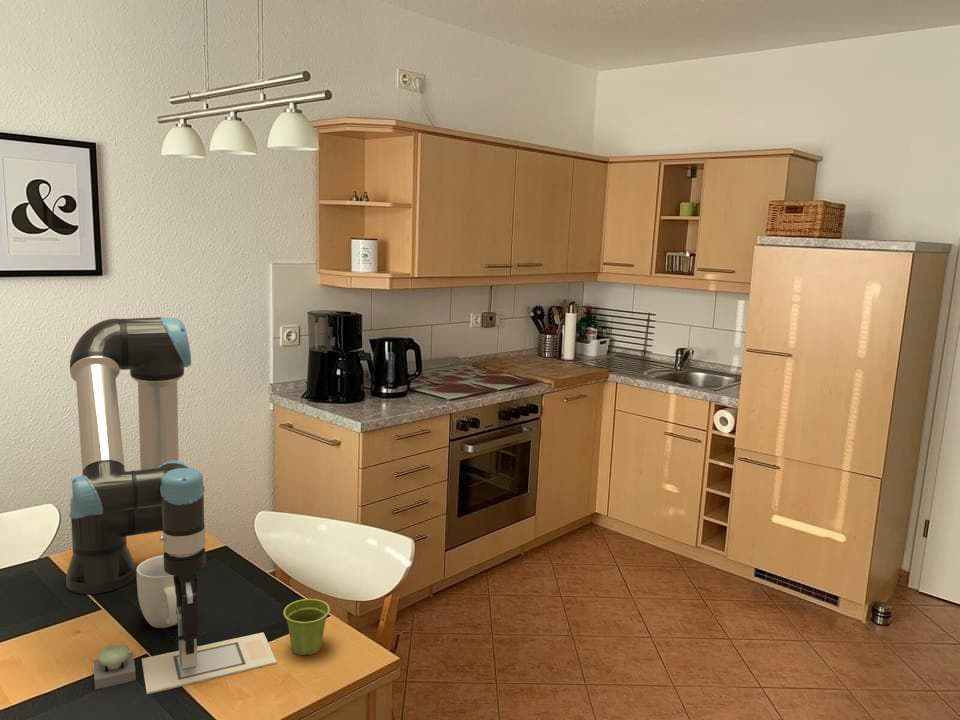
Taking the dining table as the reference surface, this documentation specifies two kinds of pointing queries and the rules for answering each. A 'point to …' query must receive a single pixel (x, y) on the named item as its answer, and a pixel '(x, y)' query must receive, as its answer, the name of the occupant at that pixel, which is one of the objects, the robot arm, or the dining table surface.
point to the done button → (113, 656)
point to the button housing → (114, 673)
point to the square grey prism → (180, 634)
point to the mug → (156, 593)
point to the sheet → (208, 663)
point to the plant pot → (306, 624)
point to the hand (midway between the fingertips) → (188, 659)
